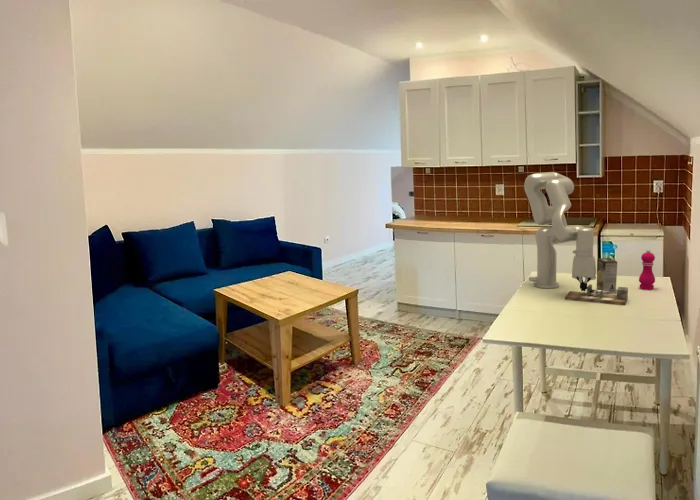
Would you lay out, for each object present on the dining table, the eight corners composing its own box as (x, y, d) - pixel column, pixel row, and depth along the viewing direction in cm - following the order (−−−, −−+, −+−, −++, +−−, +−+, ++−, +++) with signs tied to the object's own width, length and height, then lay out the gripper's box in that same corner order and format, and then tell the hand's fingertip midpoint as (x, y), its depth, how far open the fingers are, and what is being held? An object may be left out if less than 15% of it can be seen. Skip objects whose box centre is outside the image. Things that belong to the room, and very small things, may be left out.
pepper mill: (654, 287, 277) (656, 248, 273) (655, 290, 271) (657, 251, 267) (638, 286, 280) (639, 247, 276) (638, 289, 274) (640, 250, 270)
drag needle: (599, 298, 255) (599, 291, 255) (600, 296, 258) (600, 290, 257) (601, 298, 255) (601, 292, 254) (602, 296, 257) (602, 290, 257)
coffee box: (595, 289, 279) (596, 258, 276) (608, 288, 279) (609, 257, 276) (603, 293, 270) (604, 261, 267) (616, 293, 270) (618, 261, 267)
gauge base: (565, 299, 264) (565, 287, 263) (569, 293, 273) (569, 282, 272) (624, 305, 250) (625, 292, 249) (627, 299, 259) (628, 287, 258)
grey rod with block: (586, 296, 260) (586, 288, 260) (589, 292, 267) (589, 284, 266) (607, 298, 255) (607, 289, 255) (609, 294, 262) (610, 286, 261)
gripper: (566, 254, 263) (565, 290, 266) (600, 255, 255) (598, 293, 258) (569, 251, 269) (568, 287, 272) (602, 252, 261) (601, 290, 264)
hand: (583, 290), depth 265 cm, fingers closed
